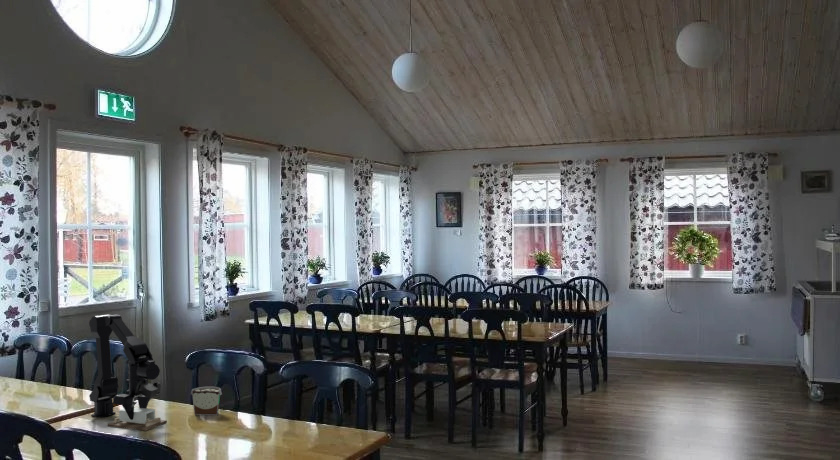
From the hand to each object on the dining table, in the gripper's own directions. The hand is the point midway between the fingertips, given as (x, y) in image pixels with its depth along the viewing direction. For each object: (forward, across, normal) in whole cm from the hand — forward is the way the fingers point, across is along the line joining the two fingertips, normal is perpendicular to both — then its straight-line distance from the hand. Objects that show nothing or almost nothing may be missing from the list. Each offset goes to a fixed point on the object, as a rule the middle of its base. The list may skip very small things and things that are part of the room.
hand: (137, 417), depth 259 cm
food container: (+3, +22, -16) cm, 27 cm away
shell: (+1, 0, 0) cm, 1 cm away
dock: (+3, 0, 0) cm, 3 cm away
